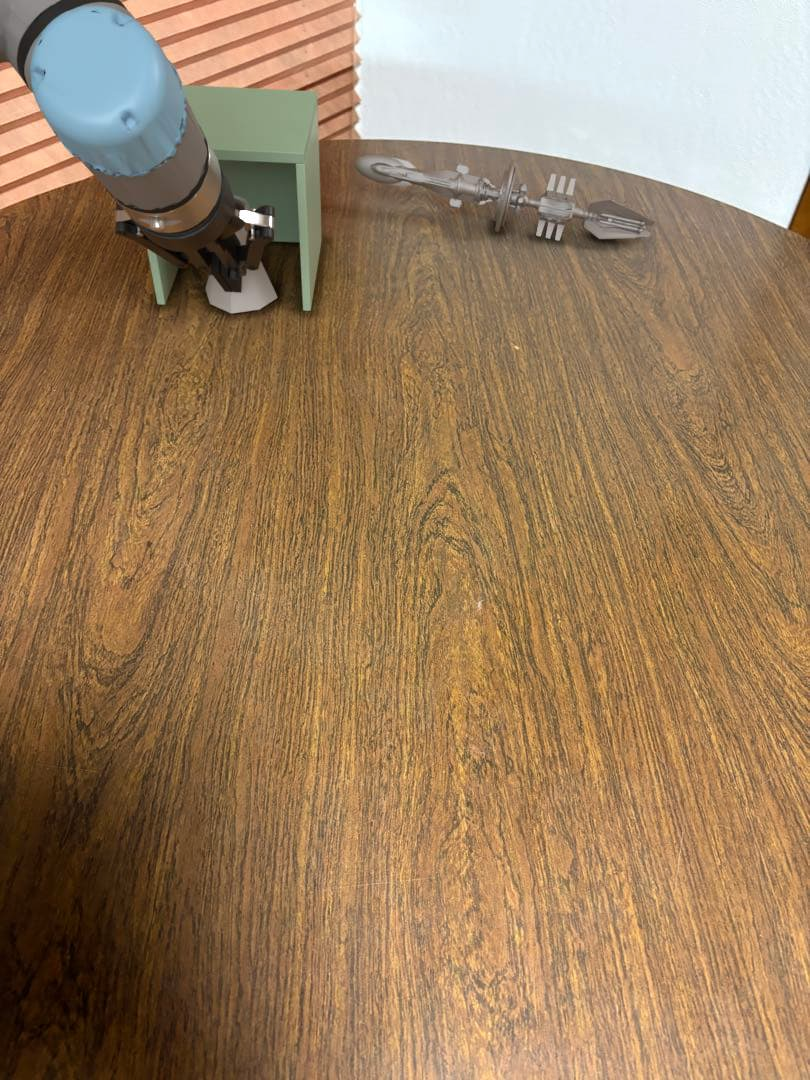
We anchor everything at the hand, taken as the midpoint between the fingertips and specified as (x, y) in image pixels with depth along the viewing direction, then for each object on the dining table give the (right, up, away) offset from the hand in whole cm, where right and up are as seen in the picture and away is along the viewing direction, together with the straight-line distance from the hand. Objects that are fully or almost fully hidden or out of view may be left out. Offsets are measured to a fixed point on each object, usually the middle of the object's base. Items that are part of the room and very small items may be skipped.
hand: (233, 278), depth 84 cm
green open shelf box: (0, +3, +8) cm, 9 cm away
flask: (0, -1, +5) cm, 5 cm away
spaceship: (+28, +11, +17) cm, 35 cm away
